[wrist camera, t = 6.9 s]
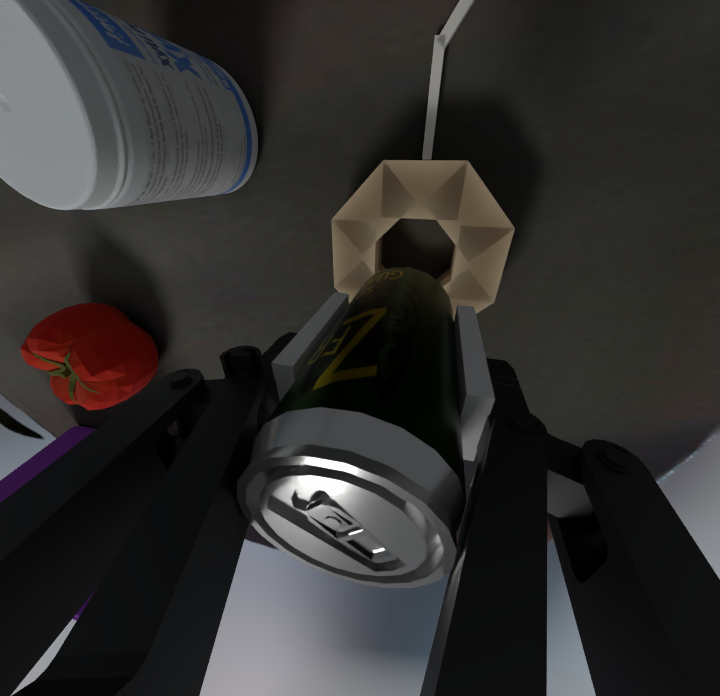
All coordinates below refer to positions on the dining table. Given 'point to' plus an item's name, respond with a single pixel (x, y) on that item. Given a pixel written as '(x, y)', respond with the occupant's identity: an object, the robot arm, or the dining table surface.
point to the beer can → (368, 443)
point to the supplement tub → (113, 112)
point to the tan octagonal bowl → (425, 201)
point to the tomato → (92, 355)
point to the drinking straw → (440, 72)
